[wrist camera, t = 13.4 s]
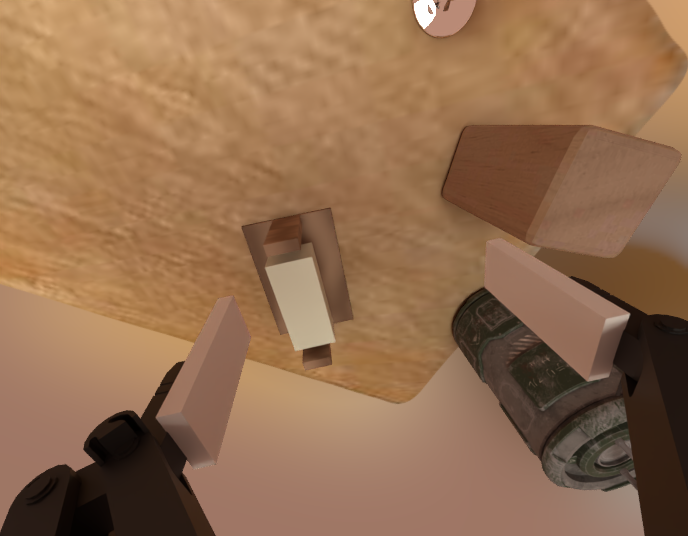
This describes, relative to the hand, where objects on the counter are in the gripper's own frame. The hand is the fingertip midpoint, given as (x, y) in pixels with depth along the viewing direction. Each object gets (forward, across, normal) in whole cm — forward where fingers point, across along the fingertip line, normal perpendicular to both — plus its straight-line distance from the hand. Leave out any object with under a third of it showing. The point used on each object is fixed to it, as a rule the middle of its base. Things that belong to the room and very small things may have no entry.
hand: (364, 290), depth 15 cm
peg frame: (+29, -7, -13) cm, 32 cm away
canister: (+29, +25, -30) cm, 49 cm away
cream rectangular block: (+25, -7, -13) cm, 29 cm away
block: (+29, +22, -2) cm, 36 cm away
